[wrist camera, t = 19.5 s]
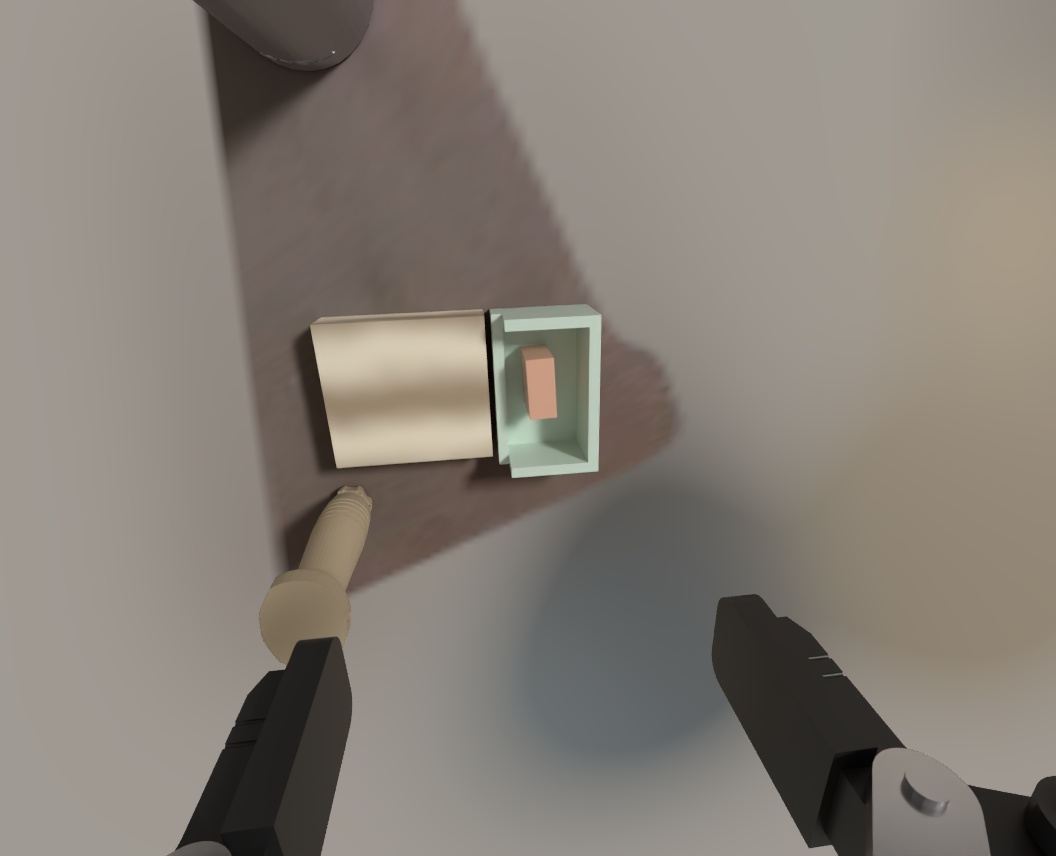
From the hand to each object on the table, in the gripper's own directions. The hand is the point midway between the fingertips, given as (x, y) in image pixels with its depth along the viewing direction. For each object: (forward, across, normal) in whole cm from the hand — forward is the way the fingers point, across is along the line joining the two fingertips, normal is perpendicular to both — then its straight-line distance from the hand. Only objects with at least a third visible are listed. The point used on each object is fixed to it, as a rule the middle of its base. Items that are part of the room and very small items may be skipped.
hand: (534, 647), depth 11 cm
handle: (+32, +12, +14) cm, 37 cm away
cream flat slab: (+32, +6, +4) cm, 33 cm away
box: (+32, -4, +4) cm, 33 cm away
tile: (+29, -3, +3) cm, 30 cm away
